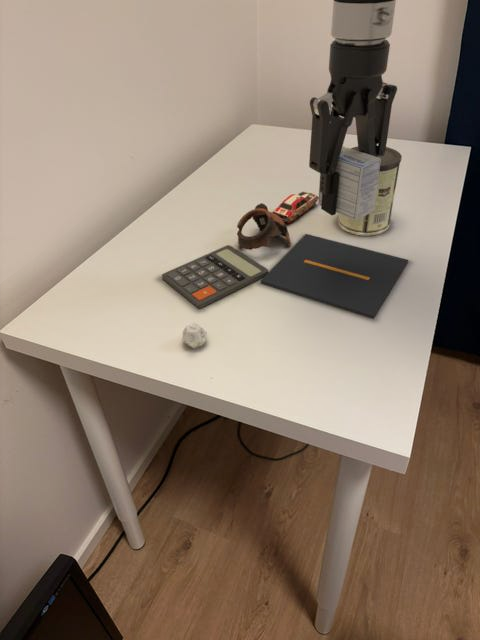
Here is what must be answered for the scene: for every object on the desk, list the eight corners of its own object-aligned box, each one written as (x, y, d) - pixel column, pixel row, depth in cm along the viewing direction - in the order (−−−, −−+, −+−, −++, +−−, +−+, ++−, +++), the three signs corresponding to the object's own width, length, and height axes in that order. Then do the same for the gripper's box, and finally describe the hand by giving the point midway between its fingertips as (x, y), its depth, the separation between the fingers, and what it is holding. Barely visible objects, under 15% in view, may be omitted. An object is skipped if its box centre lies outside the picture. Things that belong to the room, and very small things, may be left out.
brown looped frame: (298, 256, 90) (281, 229, 84) (253, 276, 93) (233, 251, 87) (286, 212, 97) (269, 184, 91) (245, 232, 100) (226, 206, 94)
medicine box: (374, 212, 75) (382, 157, 70) (355, 222, 73) (363, 166, 68) (335, 197, 80) (340, 144, 74) (316, 205, 78) (320, 151, 72)
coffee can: (354, 207, 103) (362, 140, 94) (398, 221, 98) (411, 152, 89) (327, 225, 98) (333, 157, 89) (373, 241, 92) (384, 170, 83)
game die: (190, 333, 74) (188, 317, 72) (211, 339, 72) (210, 324, 71) (178, 347, 71) (176, 332, 69) (200, 354, 70) (198, 338, 68)
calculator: (160, 273, 85) (228, 243, 92) (161, 278, 85) (228, 248, 92) (198, 304, 77) (269, 269, 84) (199, 308, 78) (269, 273, 85)
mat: (407, 262, 86) (408, 259, 86) (373, 318, 75) (374, 315, 74) (305, 236, 95) (305, 233, 94) (260, 283, 83) (260, 280, 83)
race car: (269, 225, 102) (267, 207, 98) (304, 197, 107) (303, 178, 104) (287, 233, 99) (286, 214, 96) (322, 203, 104) (322, 185, 101)
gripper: (321, 54, 56) (310, 232, 71) (434, 34, 63) (402, 201, 77) (285, 44, 61) (282, 212, 76) (392, 27, 68) (370, 184, 82)
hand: (342, 206), depth 77 cm, fingers closed on medicine box, 5 cm apart
